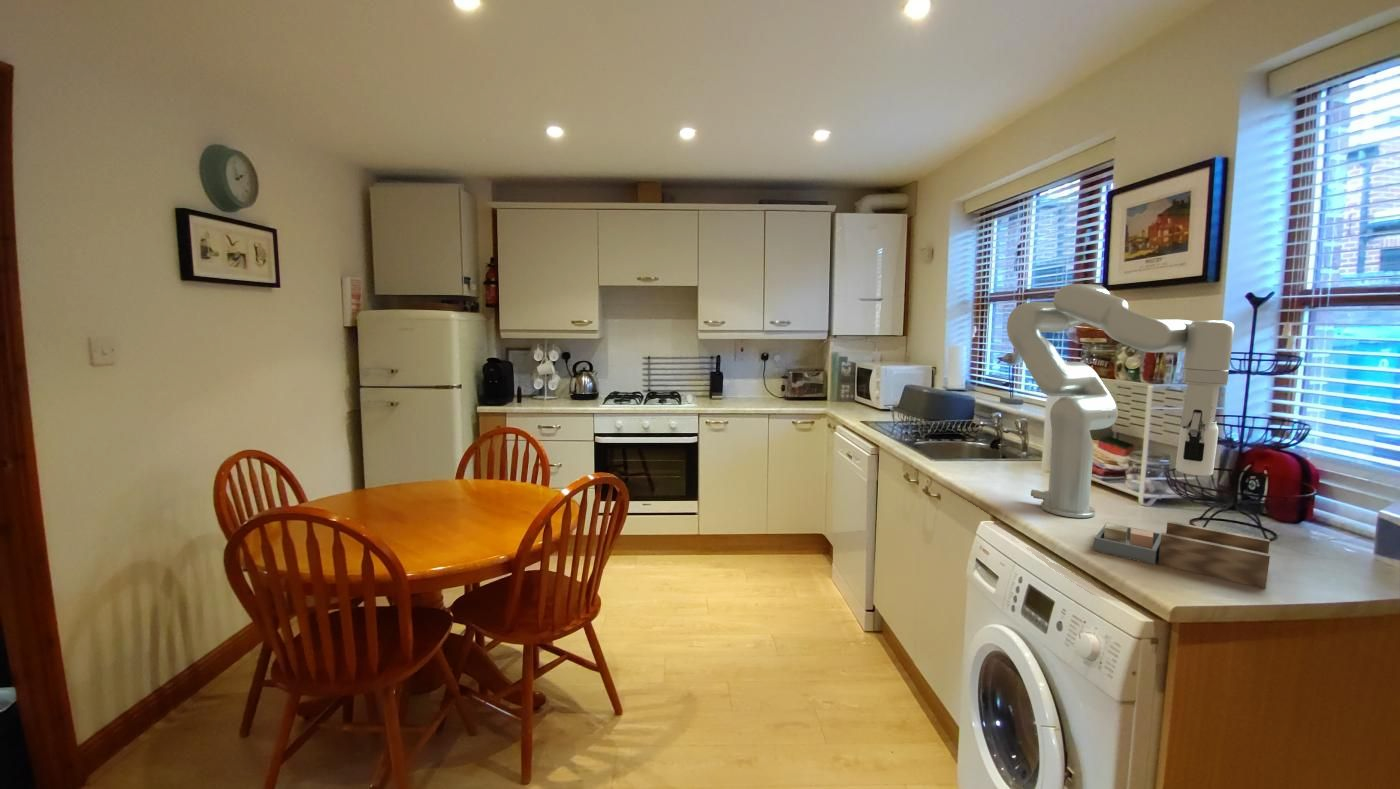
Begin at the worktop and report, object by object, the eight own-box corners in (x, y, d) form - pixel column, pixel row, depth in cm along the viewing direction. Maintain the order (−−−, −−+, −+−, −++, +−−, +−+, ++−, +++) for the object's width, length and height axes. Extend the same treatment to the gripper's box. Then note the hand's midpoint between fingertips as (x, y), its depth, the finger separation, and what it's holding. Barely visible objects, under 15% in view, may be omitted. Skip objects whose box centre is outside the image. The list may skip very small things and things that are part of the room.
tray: (1093, 550, 131) (1094, 537, 131) (1105, 534, 141) (1106, 522, 141) (1154, 564, 124) (1156, 551, 124) (1163, 546, 134) (1164, 534, 134)
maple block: (1126, 531, 131) (1124, 548, 131) (1127, 527, 134) (1126, 543, 134) (1104, 527, 133) (1103, 544, 134) (1106, 523, 136) (1105, 539, 137)
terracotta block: (1130, 533, 130) (1153, 537, 127) (1130, 528, 133) (1153, 532, 131) (1128, 550, 130) (1151, 554, 128) (1129, 545, 133) (1151, 549, 131)
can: (1168, 470, 132) (1174, 418, 131) (1186, 468, 135) (1192, 416, 133) (1201, 478, 126) (1208, 423, 125) (1219, 475, 129) (1226, 421, 127)
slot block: (1158, 564, 124) (1161, 534, 123) (1165, 548, 133) (1168, 520, 132) (1265, 588, 113) (1269, 556, 112) (1265, 569, 121) (1269, 539, 121)
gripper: (1188, 373, 136) (1179, 448, 139) (1176, 378, 124) (1166, 461, 127) (1231, 376, 131) (1221, 454, 133) (1223, 381, 119) (1212, 467, 121)
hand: (1195, 456), depth 130 cm, fingers closed on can, 6 cm apart
